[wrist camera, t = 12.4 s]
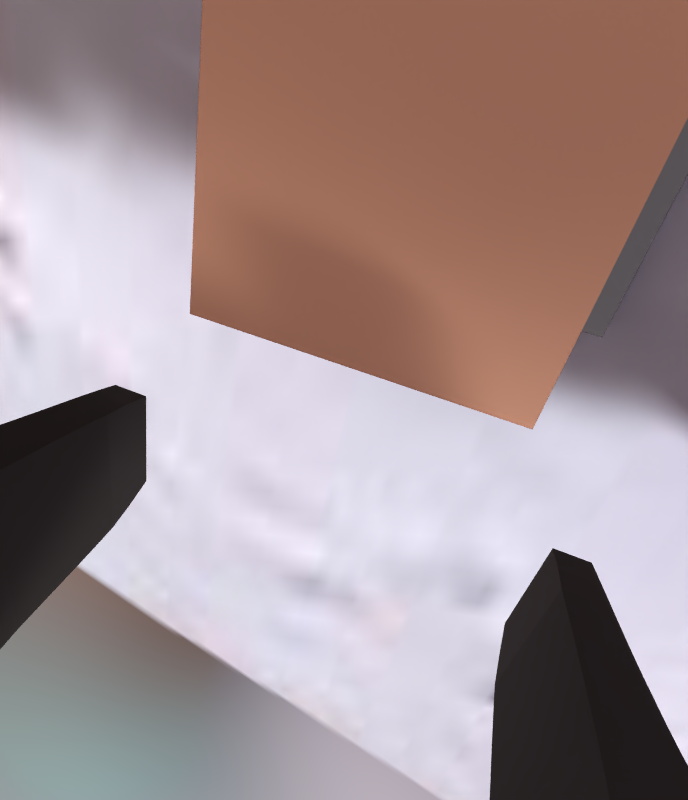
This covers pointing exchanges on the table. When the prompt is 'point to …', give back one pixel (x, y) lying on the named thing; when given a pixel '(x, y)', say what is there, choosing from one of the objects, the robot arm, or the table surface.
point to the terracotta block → (429, 179)
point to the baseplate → (641, 236)
